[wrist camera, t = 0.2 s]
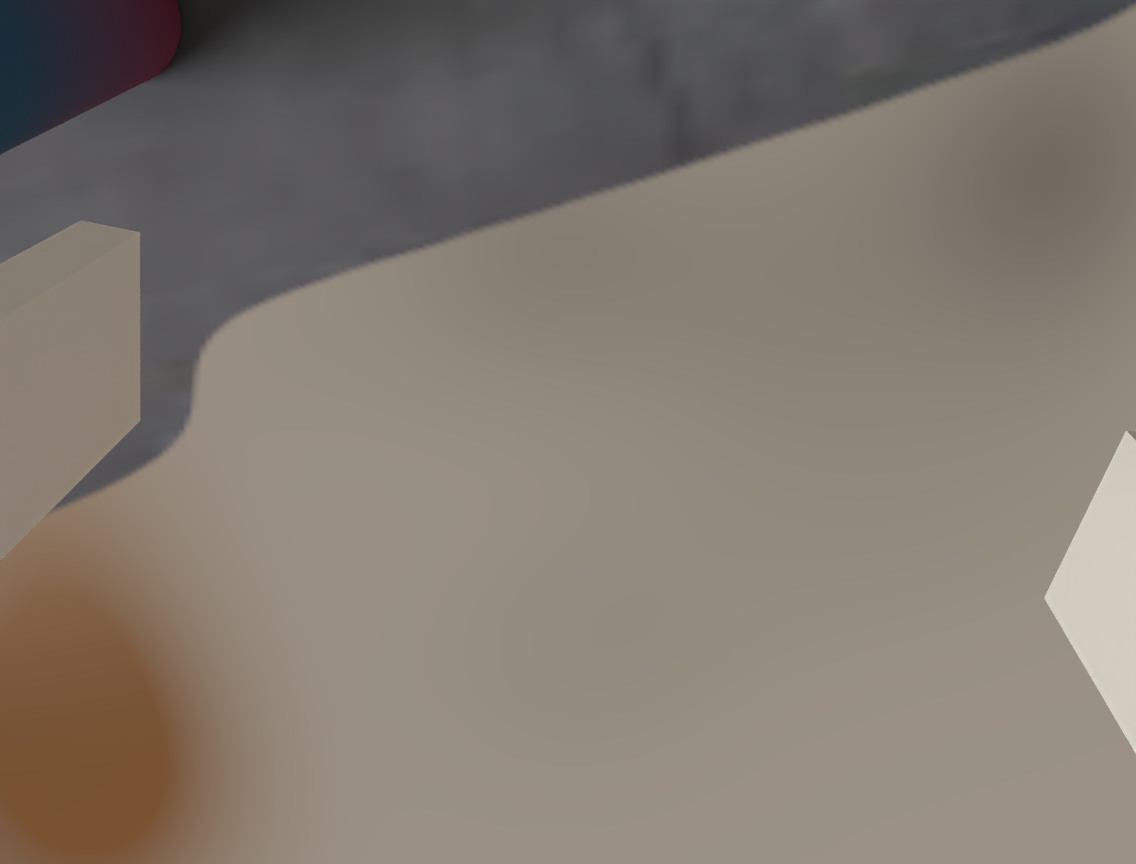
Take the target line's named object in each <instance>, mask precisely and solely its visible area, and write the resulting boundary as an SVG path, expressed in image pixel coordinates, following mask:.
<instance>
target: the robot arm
mask: <svg viewBox="0 0 1136 864" xmlns="http://www.w3.org/2000/svg"><path fill="white" fill-rule="evenodd" d="M139 421H140V232H136V231H131V230H126V229H121V228H116V227H111V226H106V225H101V224H96V223H91V222H86V221H79V222H77V223H75V224H73V225H71V226H69V227H68V228H66V229H64V230H62V231H60V232H58V233H57V234H55V235H53V236H51V237H49V238H47V239H45V240H44V241H42V242H40V243H38V244H36V245H34V246H32V247H31V248H29V249H27V250H25V251H23V252H21V253H20V254H18V255H16V256H14V257H12V258H10V259H8V260H7V261H5V262H3V263H1V264H0V561H1V559H3V557H4V556H6V555H7V554H8V553H9V552H10V551H11V550H12V548H13V547H15V546H16V545H17V543H19V542H20V541H21V539H23V537H25V536H26V534H28V533H29V531H31V530H32V528H33V527H35V525H36V524H38V523H39V522H40V521H41V519H42V518H43V517H44V516H45V515H46V514H47V513H48V512H49V511H50V510H51V509H52V508H53V507H54V506H55V505H56V504H57V503H58V502H59V501H60V500H61V499H62V498H63V497H64V496H65V495H66V494H67V493H68V492H69V491H70V490H71V489H72V488H73V487H74V486H75V485H76V484H77V483H78V482H79V481H80V480H81V479H82V478H83V477H84V476H85V475H86V474H87V473H88V472H89V471H90V470H91V469H92V468H93V467H94V466H95V465H96V464H97V463H98V462H99V461H100V460H101V459H102V458H103V457H104V456H105V455H106V454H107V453H108V452H109V451H110V450H111V449H112V448H113V447H114V446H115V445H116V444H117V443H118V442H119V441H120V440H121V439H122V438H123V437H124V436H125V435H126V434H127V433H128V432H129V431H130V430H131V429H132V428H133V427H134V426H135V425H136V424H137V423H138V422H139ZM1045 600H1046V602H1047V604H1048V605H1049V607H1050V609H1051V610H1052V612H1053V614H1054V615H1055V617H1056V618H1057V621H1058V622H1059V624H1060V625H1061V627H1062V629H1063V631H1064V632H1065V634H1066V636H1067V637H1068V639H1069V641H1070V643H1071V644H1072V646H1073V648H1074V649H1075V651H1076V653H1077V655H1078V656H1079V658H1080V659H1081V661H1082V663H1083V665H1084V666H1085V668H1086V670H1087V672H1088V673H1089V675H1090V677H1091V678H1092V680H1093V681H1094V683H1095V685H1096V687H1097V688H1098V690H1099V692H1100V694H1101V695H1102V697H1103V699H1104V700H1105V702H1106V704H1107V706H1108V707H1109V709H1110V711H1111V712H1112V714H1113V716H1114V717H1115V719H1116V721H1117V722H1118V724H1119V726H1120V728H1121V729H1122V731H1123V733H1124V734H1125V736H1126V738H1127V740H1128V741H1129V743H1130V744H1131V746H1132V748H1133V750H1134V751H1135V753H1136V432H1131V431H1126V432H1125V434H1124V436H1123V438H1122V440H1121V443H1120V444H1119V446H1118V448H1117V450H1116V453H1115V455H1114V457H1113V459H1112V461H1111V463H1110V465H1109V467H1108V469H1107V471H1106V473H1105V475H1104V477H1103V479H1102V481H1101V483H1100V485H1099V487H1098V489H1097V491H1096V493H1095V496H1094V497H1093V500H1092V502H1091V504H1090V506H1089V508H1088V510H1087V512H1086V514H1085V516H1084V518H1083V520H1082V522H1081V524H1080V526H1079V528H1078V530H1077V532H1076V534H1075V536H1074V538H1073V540H1072V542H1071V544H1070V547H1069V549H1068V551H1067V553H1066V555H1065V557H1064V559H1063V561H1062V563H1061V565H1060V567H1059V569H1058V571H1057V573H1056V575H1055V577H1054V579H1053V581H1052V583H1051V585H1050V588H1049V590H1048V592H1047V594H1046V596H1045Z"/></svg>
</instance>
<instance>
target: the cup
mask: <svg viewBox="0 0 1136 864" xmlns="http://www.w3.org/2000/svg"><path fill="white" fill-rule="evenodd" d="M180 34H181V16H180V11H179V7H178V2H177V0H0V154H2V153H4V152H6V151H8V150H10V149H12V148H14V147H16V146H18V145H20V144H22V143H24V142H26V141H28V140H30V139H32V138H34V137H36V136H38V135H40V134H42V133H44V132H46V131H48V130H50V129H52V128H54V127H56V126H58V125H60V124H62V123H64V122H66V121H68V120H70V119H72V118H74V117H76V116H78V115H80V114H82V113H84V112H86V111H88V110H90V109H92V108H94V107H96V106H98V105H100V104H101V103H103V102H105V101H107V100H109V99H111V98H113V97H115V96H117V95H119V94H121V93H123V92H125V91H127V90H129V89H131V88H133V87H135V86H137V85H139V84H141V83H143V82H145V81H147V80H149V79H151V78H153V77H154V76H156V75H158V74H159V73H161V72H162V71H163V70H164V69H165V68H166V67H167V66H168V65H169V63H170V61H171V60H172V58H173V57H174V55H175V53H176V50H177V47H178V45H179V40H180Z"/></svg>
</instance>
